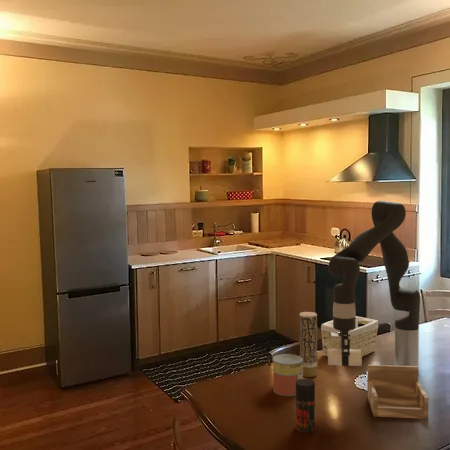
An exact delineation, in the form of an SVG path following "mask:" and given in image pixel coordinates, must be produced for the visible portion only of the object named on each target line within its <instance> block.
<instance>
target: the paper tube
mask: <svg viewBox="0 0 450 450" xmlns="http://www.w3.org/2000/svg"><path fill="white" fill-rule="evenodd" d="M317 323H318V314H317V313H316V312H315V311H313V312H312V311H302V312H299V356H301V357H302V358H303V377H304V378H313V377H317V375H318V324H317Z"/></svg>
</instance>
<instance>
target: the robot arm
mask: <svg viewBox="0 0 450 450" xmlns="http://www.w3.org/2000/svg"><path fill="white" fill-rule="evenodd" d="M371 219H372V220H371V221H372V224H373V227H371V228H369V229H366V230H364V231H362V232H361V233H360V234H359V235H357V236H356V237H355V238H354V239H353V241H352V242H350V244H349V245H348V246H347V247H345V248H343V249H341V250H340V251H339V252H337V253H336V254H335V255H333V256H332V257H331V259H330V260H329V262H328V266H327V267H328V272H329V274H330V275H331V276H333V277H337V278H344V279H343V282H342V283H337V284H335V285H334V286H333V305H332V320H333V327H334V329H336V330H339V332H338V338H339V344H340V349H341V352H342V353H341V354H342V365H341V366H342V367H350V366H349V356H350V340H351V335H350V333H348V331H350V330H354V329H355V327H356V316H357V315H356V299H355V298H356V296H355V295H356V294H355V290H356V287H357V283H358V279H359V276H360V272H361V271H360V269H361V267H360V263H361V262H363V261H364V260H365V259H366V258H367V257H368V255H369V254H370V253H371V252H372V251H373V249H375V248H376V246H377V245H379V246H380V249H381V250H380V251H381V254H382V256H381V257H382V260H383V264H384V268H385V272H386V278H387V281H388V289H389V290H388V291H389V296H390V297H389V298H390V303H391V307H392V308H393V309H394V310H396V311H400V312H408V315H407V316H405V317H400V318H397V319H395V321H394V365H396V366H418V367H419V357H420V356H419V351H420V349H419V347H420V346H419V344H420V343H419V341H420V339H419V338H420V337H419V335H420V334H419V333H420V331H419V330H420V327H419V326H420V325H419V324H420V309H421V294H420V291H419V290H418V289H414V288H403V287H401V286H400V282H401V280H402V278H403V277H404V276H405V274H406V273H407V271H408V269H409V266H410V261H409V256H408V251H407V248H406V247H405V245H404V244H403V243H402V241H401V240H400V239H399V237H397V235H396V234H395V233H394V231H396V230H398V228H399V227H400V226H402V224H403V223H404V221H405V219H406V207H405V205H403V203H400V202H395V201H387V200H377V201H375V202H374V203H373V204H372V207H371ZM344 349H346V350H347V352H344Z"/></svg>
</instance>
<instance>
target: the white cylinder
mask: <svg viewBox="0 0 450 450" xmlns="http://www.w3.org/2000/svg"><path fill="white" fill-rule="evenodd" d="M344 352H347V350H346V349H344ZM341 353H342V352H341V349H328V356H327V365H328V366H342V354H341ZM362 359H363V356H362V354H361V349H350V356H349V366H348V367H350V366H351V367H353V366H354V367H362V364H363V363H362V362H363V360H362Z"/></svg>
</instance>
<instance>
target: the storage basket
mask: <svg viewBox="0 0 450 450" xmlns="http://www.w3.org/2000/svg"><path fill="white" fill-rule="evenodd" d="M355 316H356V327H355V329H354V330H350V331H348V333H350V335H351V340H350V349H361V354H362V357H365V356H367V355H369V354H371V353H374V352H375V351H376V345H377V337H378V330H379V320H378V319H373V318H372V319H371V318H368V317H362V316H357V315H355ZM359 324H363V325H362V326H359ZM320 330H321V331H320V333H321V343H322V354H323V356H324V357H328V349H340V344H339V338H338V332H339V330H336V329H334V327H333V319H332V320H330V321H327V322H324V323H321V325H320Z"/></svg>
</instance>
